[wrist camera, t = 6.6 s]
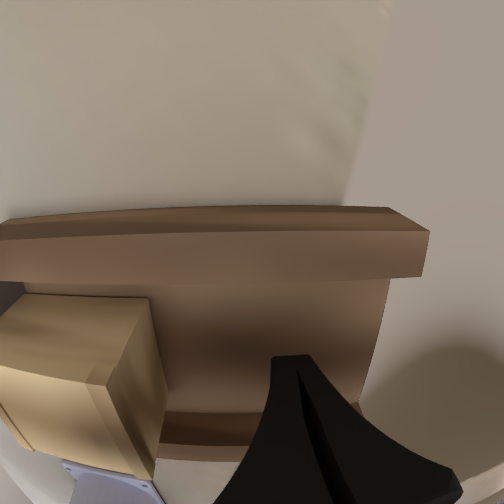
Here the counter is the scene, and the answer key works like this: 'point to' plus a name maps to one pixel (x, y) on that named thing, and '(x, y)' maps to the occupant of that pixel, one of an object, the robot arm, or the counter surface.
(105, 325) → the box
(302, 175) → the counter surface
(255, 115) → the counter surface
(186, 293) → the bay
